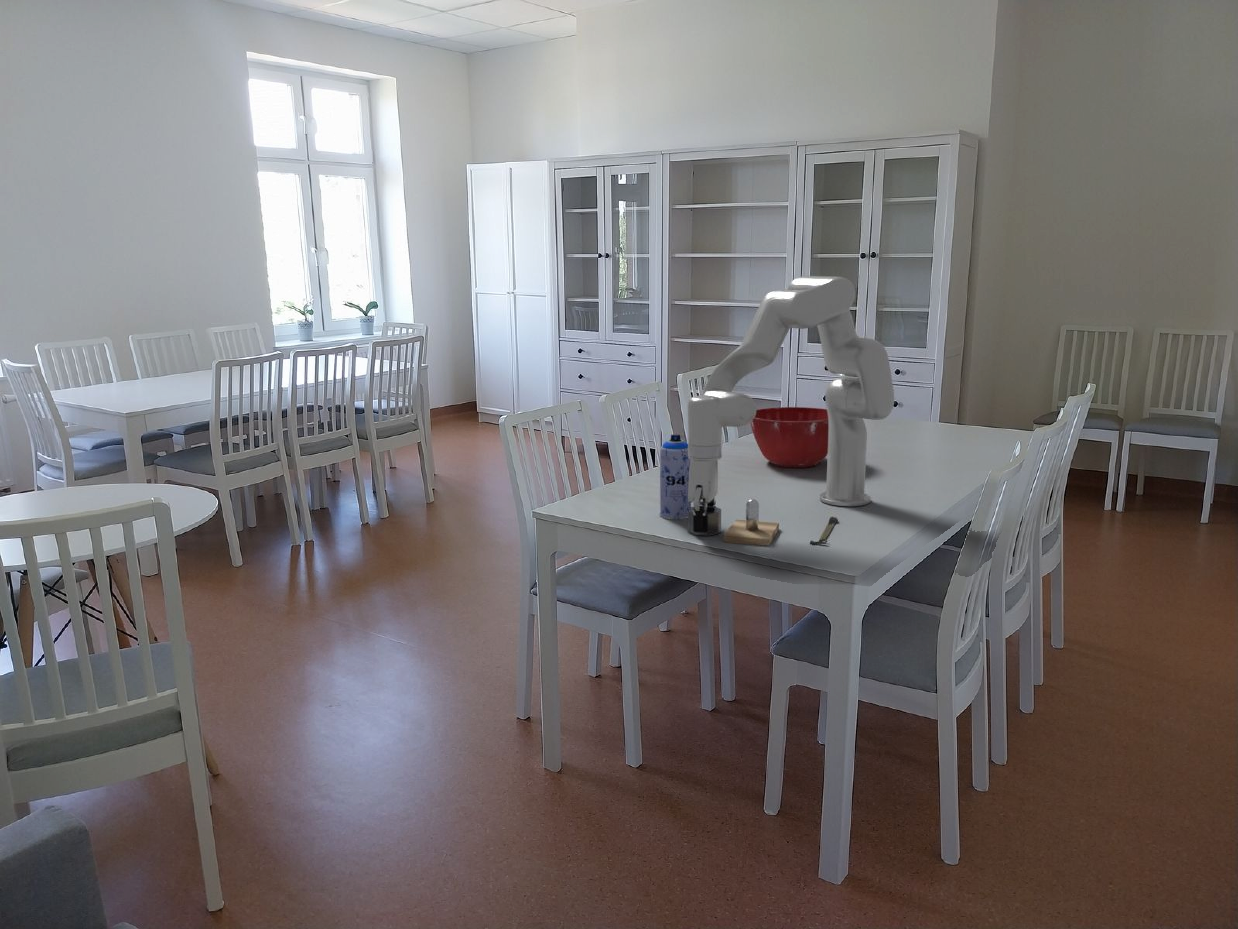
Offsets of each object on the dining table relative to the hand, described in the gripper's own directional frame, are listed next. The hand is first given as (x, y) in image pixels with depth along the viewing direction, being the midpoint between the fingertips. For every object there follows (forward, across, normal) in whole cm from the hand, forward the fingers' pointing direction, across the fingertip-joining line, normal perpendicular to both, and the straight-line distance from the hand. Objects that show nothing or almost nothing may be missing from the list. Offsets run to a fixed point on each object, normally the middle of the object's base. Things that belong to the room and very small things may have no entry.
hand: (704, 526), depth 208 cm
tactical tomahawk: (+2, -7, +28) cm, 29 cm away
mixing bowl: (+2, -78, +9) cm, 78 cm away
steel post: (0, 0, +11) cm, 11 cm away
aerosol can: (+1, -12, -10) cm, 16 cm away
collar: (+1, 0, 0) cm, 1 cm away
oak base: (+1, 0, +11) cm, 11 cm away
